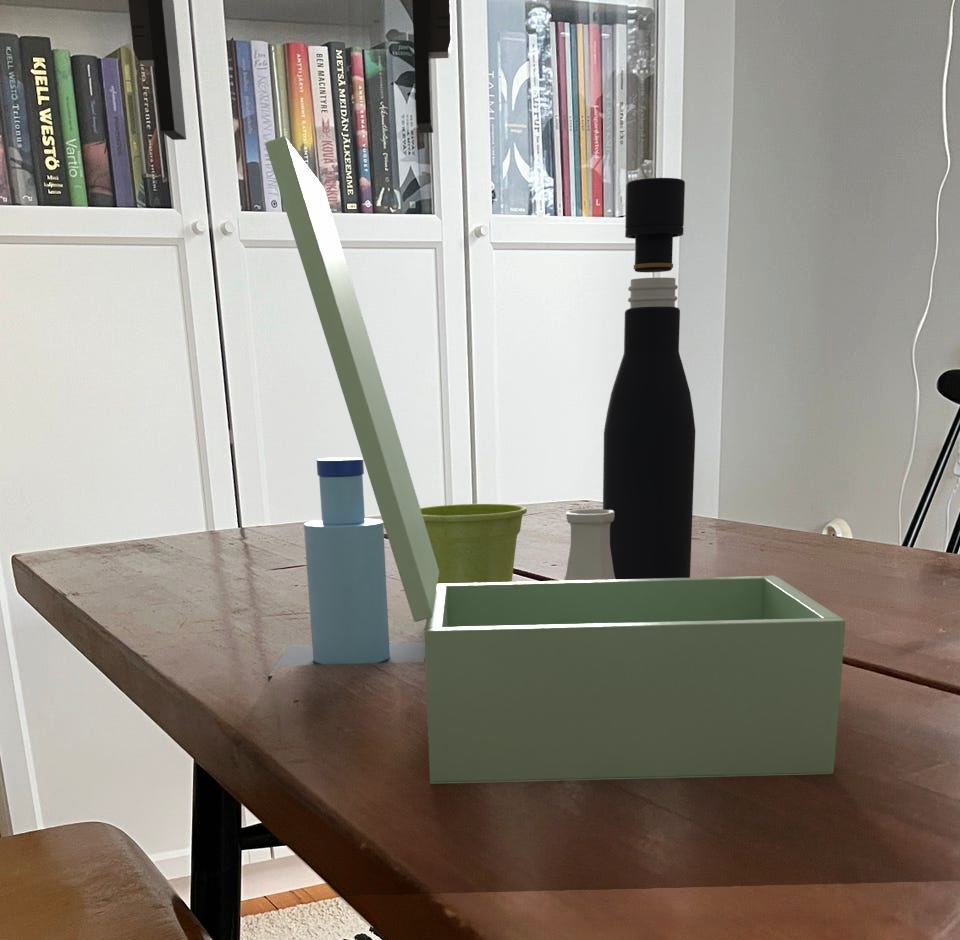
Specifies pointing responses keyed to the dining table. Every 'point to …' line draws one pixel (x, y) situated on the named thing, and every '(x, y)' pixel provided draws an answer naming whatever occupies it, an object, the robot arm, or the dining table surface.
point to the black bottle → (651, 403)
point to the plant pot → (474, 541)
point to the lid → (357, 374)
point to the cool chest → (630, 680)
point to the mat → (397, 655)
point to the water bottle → (346, 571)
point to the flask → (590, 545)
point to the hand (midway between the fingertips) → (299, 132)
